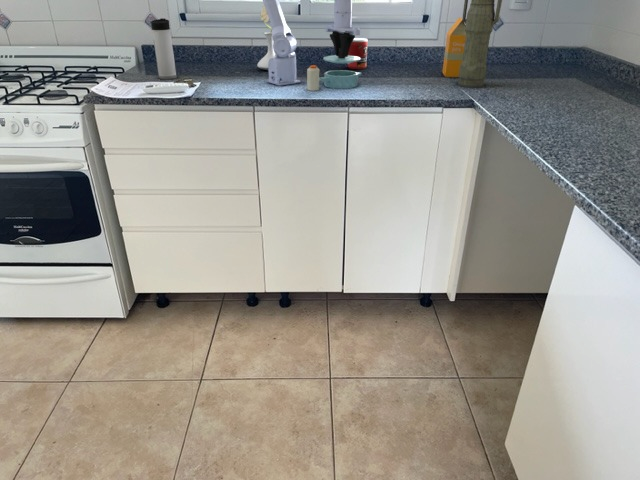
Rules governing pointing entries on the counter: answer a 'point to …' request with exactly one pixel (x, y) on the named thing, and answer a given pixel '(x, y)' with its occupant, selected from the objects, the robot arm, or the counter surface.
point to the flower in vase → (270, 54)
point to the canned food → (358, 53)
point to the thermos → (477, 41)
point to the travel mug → (163, 48)
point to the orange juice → (454, 49)
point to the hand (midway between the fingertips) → (341, 56)
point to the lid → (341, 58)
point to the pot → (340, 79)
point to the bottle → (313, 78)
